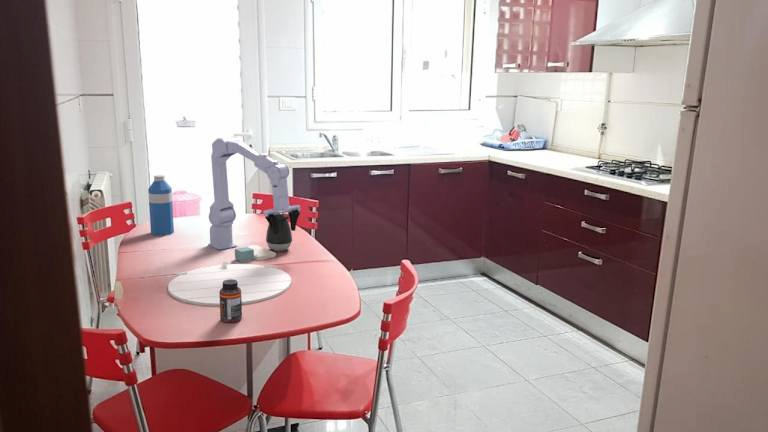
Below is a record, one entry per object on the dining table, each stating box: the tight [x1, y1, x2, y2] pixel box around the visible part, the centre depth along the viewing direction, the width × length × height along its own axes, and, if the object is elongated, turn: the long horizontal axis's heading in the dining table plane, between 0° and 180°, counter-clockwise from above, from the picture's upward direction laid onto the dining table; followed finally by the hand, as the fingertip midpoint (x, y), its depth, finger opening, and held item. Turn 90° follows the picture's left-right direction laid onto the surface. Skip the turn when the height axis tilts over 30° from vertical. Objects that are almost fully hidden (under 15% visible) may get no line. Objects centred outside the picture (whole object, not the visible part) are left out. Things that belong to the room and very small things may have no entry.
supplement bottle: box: [219, 279, 243, 324], centre depth 168 cm, size 6×6×11 cm
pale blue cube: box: [234, 246, 255, 263], centre depth 224 cm, size 5×5×4 cm
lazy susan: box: [167, 260, 292, 307], centre depth 198 cm, size 40×39×3 cm
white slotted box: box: [240, 244, 277, 261], centre depth 232 cm, size 15×8×2 cm, turn 43°
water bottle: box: [147, 174, 175, 237], centre depth 257 cm, size 9×9×25 cm
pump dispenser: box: [265, 213, 293, 252], centre depth 237 cm, size 10×10×15 cm
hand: (284, 232), depth 226 cm, fingers open, 7 cm apart
